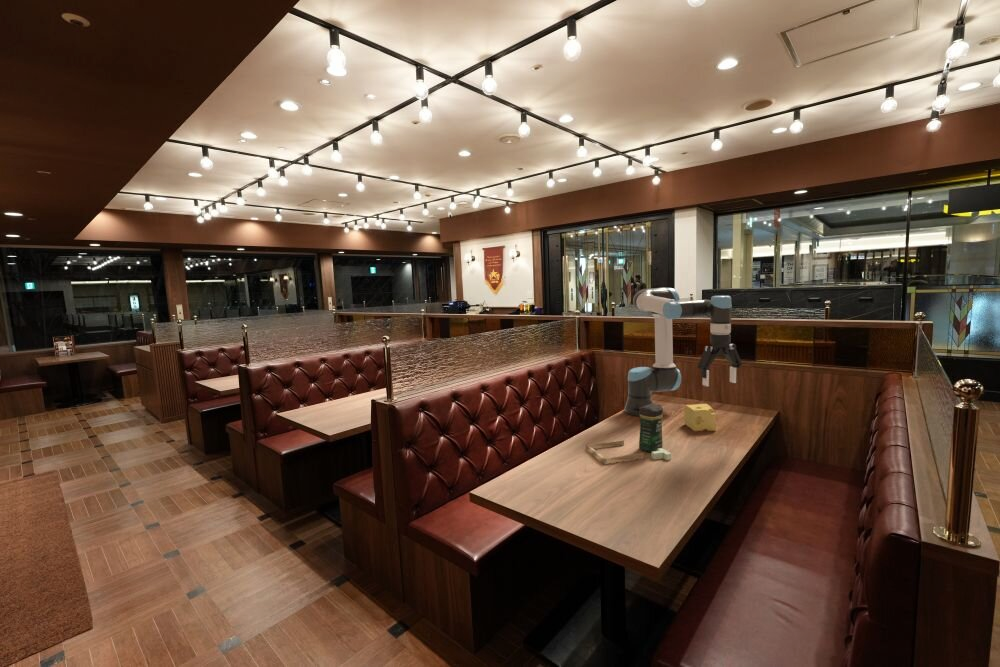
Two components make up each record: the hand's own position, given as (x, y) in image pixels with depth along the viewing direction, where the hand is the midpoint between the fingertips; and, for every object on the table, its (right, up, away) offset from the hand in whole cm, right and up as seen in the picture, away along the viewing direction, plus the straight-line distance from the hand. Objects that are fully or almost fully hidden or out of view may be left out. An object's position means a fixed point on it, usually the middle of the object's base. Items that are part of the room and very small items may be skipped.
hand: (719, 384), depth 180 cm
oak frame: (-45, -28, -4) cm, 53 cm away
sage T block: (-29, -28, -10) cm, 41 cm away
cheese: (+2, -23, +22) cm, 32 cm away
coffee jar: (-29, -27, -1) cm, 39 cm away
